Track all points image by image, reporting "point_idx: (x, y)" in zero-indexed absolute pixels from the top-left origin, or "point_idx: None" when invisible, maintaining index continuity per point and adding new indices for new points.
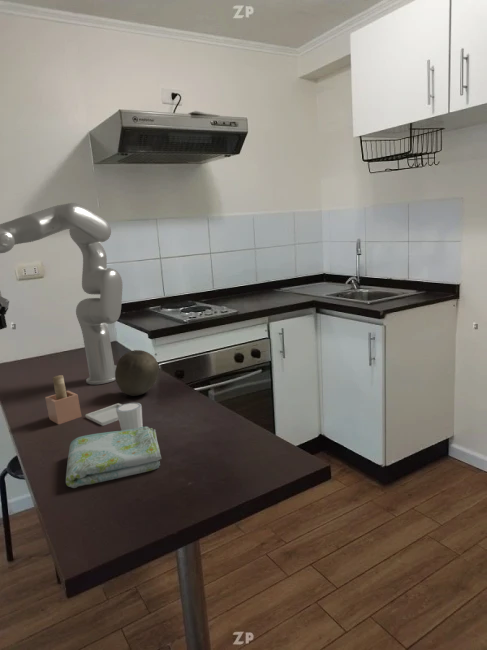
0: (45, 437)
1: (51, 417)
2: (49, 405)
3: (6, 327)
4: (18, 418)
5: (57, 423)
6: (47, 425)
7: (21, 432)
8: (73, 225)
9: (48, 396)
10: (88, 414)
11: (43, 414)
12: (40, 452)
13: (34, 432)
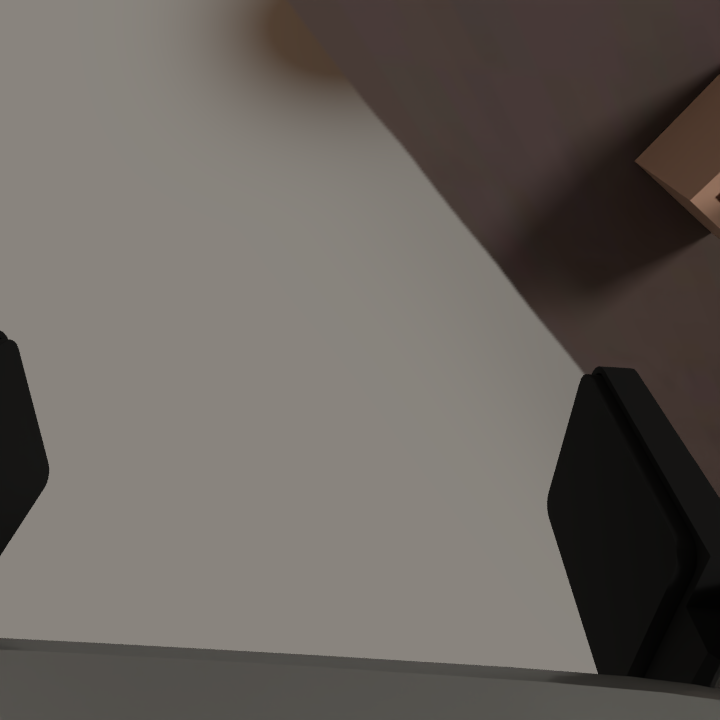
0: (683, 338)
1: (670, 192)
2: (702, 216)
3: (624, 373)
4: (415, 104)
5: (709, 230)
6: (643, 215)
7: (541, 284)
8: None
9: (708, 185)
10: None
11: (549, 51)
12: (710, 446)
13: (608, 288)
